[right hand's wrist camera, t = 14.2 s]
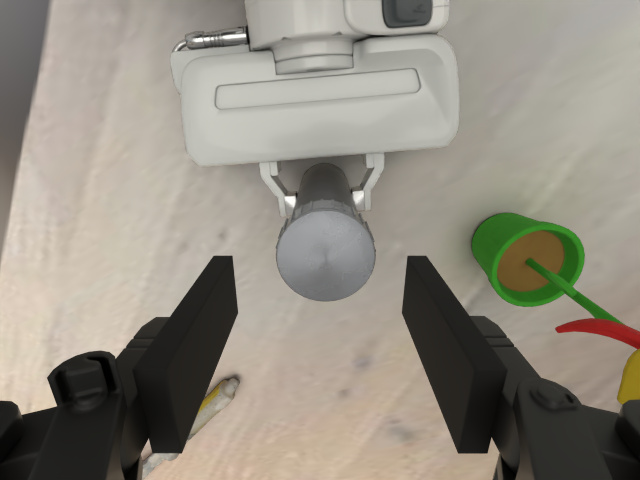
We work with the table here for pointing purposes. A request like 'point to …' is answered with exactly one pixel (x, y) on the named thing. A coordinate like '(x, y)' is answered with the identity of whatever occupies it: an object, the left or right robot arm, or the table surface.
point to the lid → (325, 251)
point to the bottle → (324, 186)
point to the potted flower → (548, 278)
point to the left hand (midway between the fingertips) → (325, 212)
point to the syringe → (198, 419)
